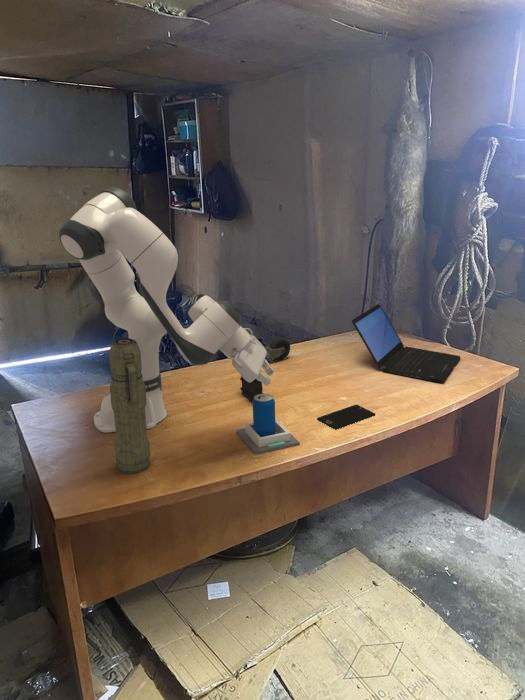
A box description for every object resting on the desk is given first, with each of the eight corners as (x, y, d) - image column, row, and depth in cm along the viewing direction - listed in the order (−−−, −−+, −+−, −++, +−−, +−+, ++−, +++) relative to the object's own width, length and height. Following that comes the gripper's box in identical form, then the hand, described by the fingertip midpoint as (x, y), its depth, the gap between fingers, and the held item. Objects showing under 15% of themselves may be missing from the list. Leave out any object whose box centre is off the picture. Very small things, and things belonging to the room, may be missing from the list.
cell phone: (316, 420, 170) (316, 417, 170) (356, 406, 180) (356, 404, 180) (335, 431, 163) (335, 428, 163) (375, 416, 173) (376, 413, 173)
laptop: (442, 385, 198) (449, 336, 191) (347, 366, 215) (350, 320, 209) (461, 359, 225) (467, 314, 218) (375, 344, 243) (378, 302, 236)
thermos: (127, 480, 136) (116, 351, 125) (109, 460, 145) (97, 338, 134) (159, 469, 141) (151, 344, 130) (139, 450, 150) (130, 332, 139)
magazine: (258, 404, 176) (249, 360, 177) (243, 406, 188) (235, 364, 189) (268, 402, 177) (260, 358, 178) (252, 404, 189) (245, 362, 190)
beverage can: (264, 428, 162) (263, 391, 158) (280, 434, 158) (279, 396, 154) (249, 435, 157) (247, 397, 154) (265, 442, 153) (263, 403, 150)
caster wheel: (283, 357, 226) (253, 361, 218) (285, 335, 224) (255, 338, 215) (291, 361, 222) (261, 365, 213) (293, 339, 219) (263, 342, 211)
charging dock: (255, 454, 149) (255, 444, 148) (236, 432, 161) (236, 422, 160) (299, 444, 154) (299, 434, 153) (278, 424, 166) (278, 414, 165)
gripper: (237, 349, 138) (274, 386, 141) (249, 326, 158) (282, 359, 160) (221, 364, 140) (257, 400, 143) (235, 340, 160) (267, 372, 162)
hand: (270, 378), depth 151 cm, fingers open, 6 cm apart
